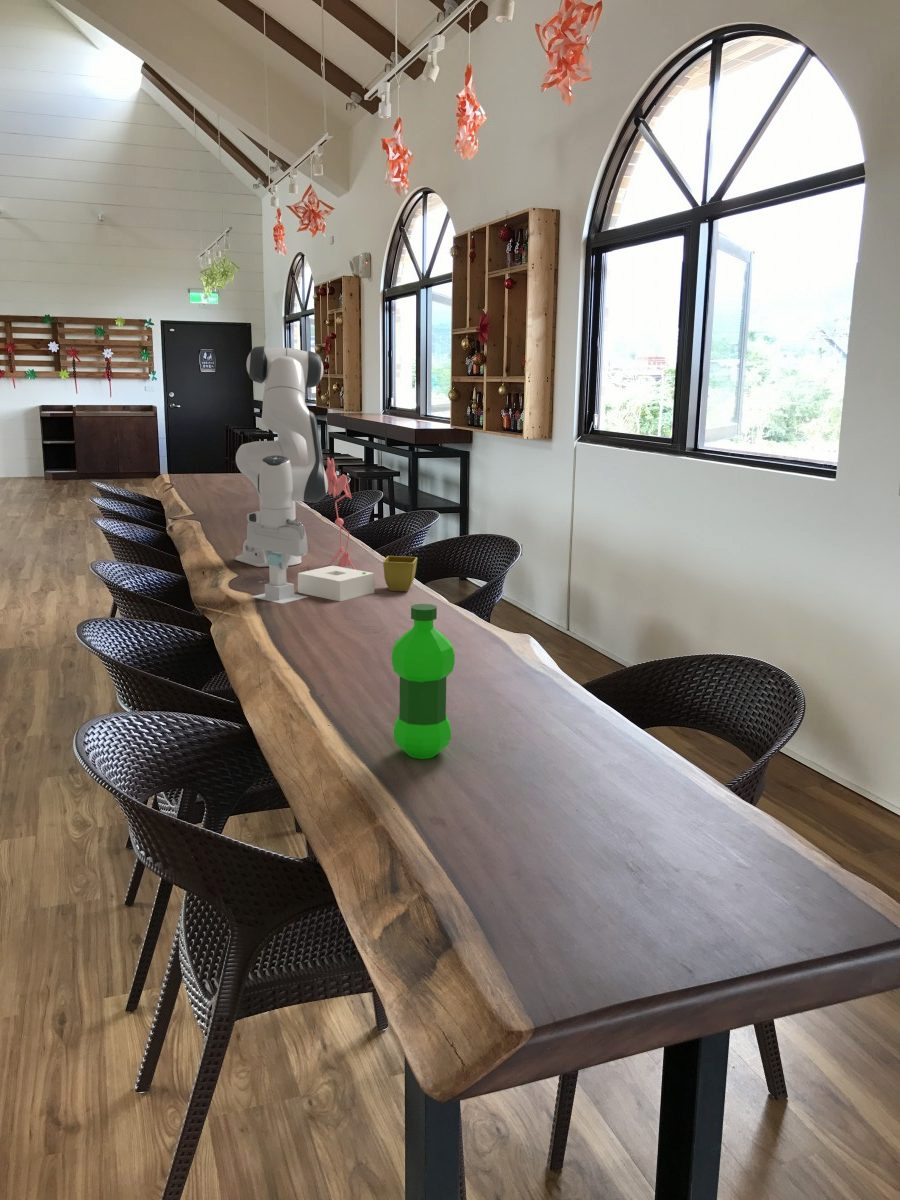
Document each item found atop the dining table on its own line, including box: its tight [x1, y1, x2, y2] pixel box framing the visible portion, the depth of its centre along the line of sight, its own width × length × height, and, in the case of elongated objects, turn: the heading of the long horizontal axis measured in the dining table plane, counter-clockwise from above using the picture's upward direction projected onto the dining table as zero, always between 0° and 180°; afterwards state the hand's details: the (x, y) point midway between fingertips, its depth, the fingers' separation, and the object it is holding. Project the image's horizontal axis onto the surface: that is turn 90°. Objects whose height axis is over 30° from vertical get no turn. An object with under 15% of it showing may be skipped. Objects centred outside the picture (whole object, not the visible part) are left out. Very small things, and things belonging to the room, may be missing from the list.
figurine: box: [325, 457, 356, 570], centre depth 298 cm, size 15×26×35 cm, turn 16°
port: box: [297, 565, 375, 602], centre depth 267 cm, size 16×14×6 cm
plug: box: [268, 552, 288, 587], centre depth 260 cm, size 3×3×9 cm
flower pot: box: [382, 555, 418, 592], centre depth 274 cm, size 9×9×9 cm
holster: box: [250, 582, 308, 604], centre depth 261 cm, size 12×10×4 cm
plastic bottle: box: [391, 603, 456, 760], centre depth 156 cm, size 10×10×25 cm
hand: (277, 567), depth 260 cm, fingers closed on plug, 3 cm apart
